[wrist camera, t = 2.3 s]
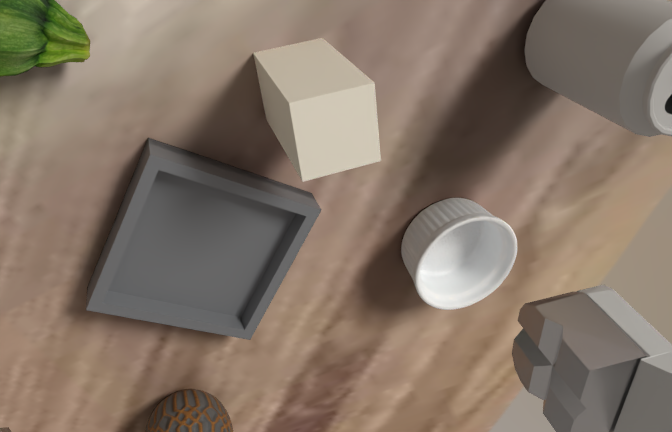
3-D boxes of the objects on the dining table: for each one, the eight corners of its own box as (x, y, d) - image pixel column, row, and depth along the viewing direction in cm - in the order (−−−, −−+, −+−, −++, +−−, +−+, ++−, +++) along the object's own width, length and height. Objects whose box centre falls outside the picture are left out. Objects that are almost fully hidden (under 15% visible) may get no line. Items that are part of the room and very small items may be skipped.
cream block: (266, 119, 38) (302, 181, 31) (253, 52, 35) (289, 103, 28) (330, 104, 39) (380, 160, 31) (322, 38, 36) (374, 82, 29)
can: (517, 95, 43) (633, 163, 33) (517, -7, 39) (650, 38, 29) (602, 68, 44) (738, 126, 35) (612, -34, 40) (770, 0, 30)
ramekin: (484, 266, 52) (511, 295, 48) (393, 290, 50) (414, 322, 46) (494, 180, 47) (524, 206, 43) (394, 202, 45) (417, 231, 41)
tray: (87, 287, 40) (86, 310, 38) (148, 137, 36) (150, 154, 34) (244, 318, 46) (250, 339, 44) (311, 192, 42) (321, 209, 40)
